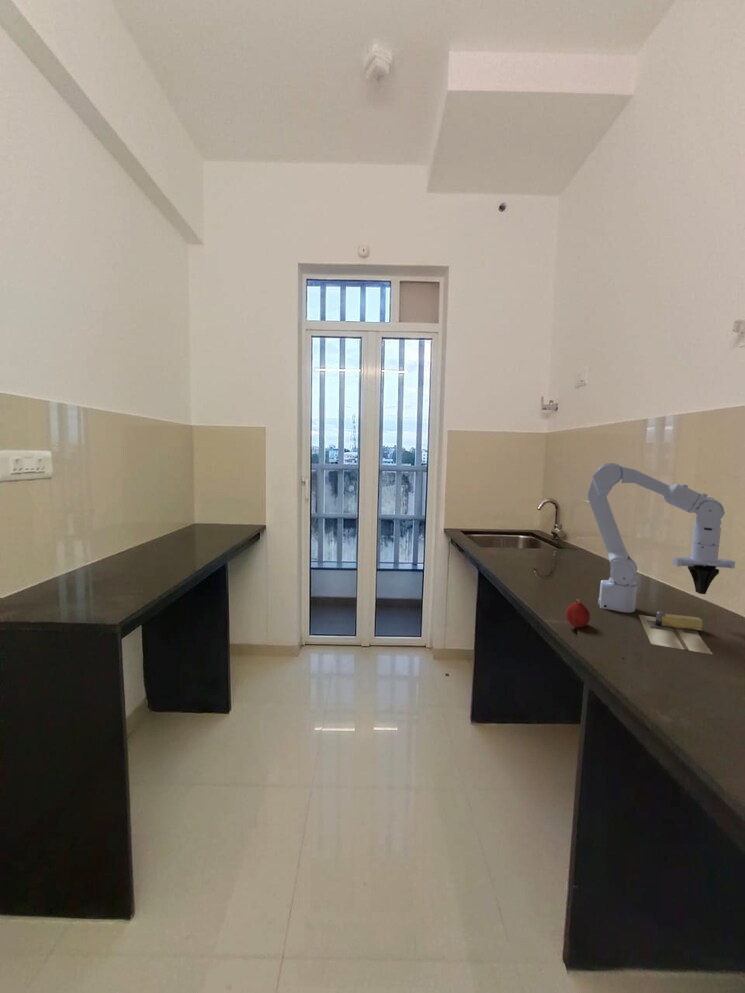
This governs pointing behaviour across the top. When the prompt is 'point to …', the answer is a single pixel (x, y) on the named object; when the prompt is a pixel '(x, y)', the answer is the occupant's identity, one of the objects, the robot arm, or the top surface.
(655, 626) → the door board
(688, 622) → the swing bar
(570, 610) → the onion
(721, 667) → the top surface
